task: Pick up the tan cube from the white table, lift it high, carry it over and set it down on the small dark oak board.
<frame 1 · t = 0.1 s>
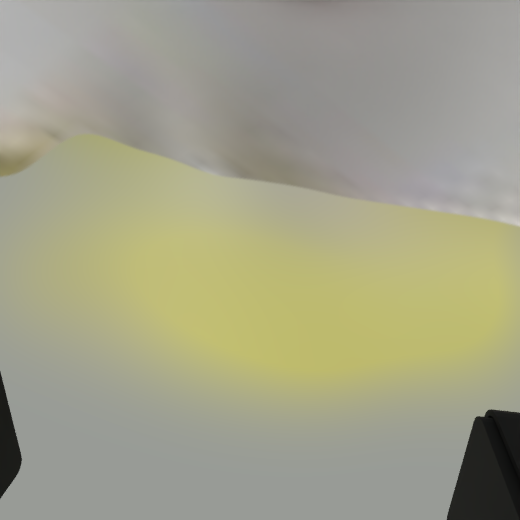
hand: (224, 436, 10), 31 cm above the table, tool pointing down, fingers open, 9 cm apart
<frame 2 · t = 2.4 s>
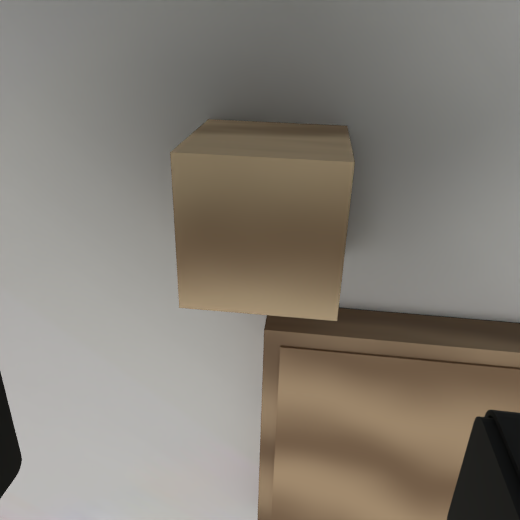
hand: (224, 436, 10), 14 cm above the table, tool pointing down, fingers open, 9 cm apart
tan cube: (274, 188, 22), on the table
oak board: (404, 434, 28), on the table
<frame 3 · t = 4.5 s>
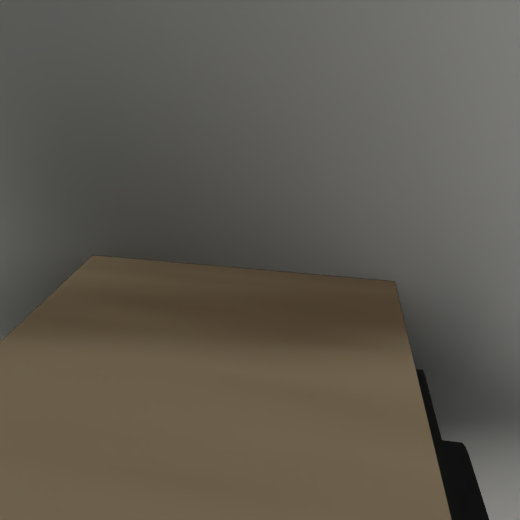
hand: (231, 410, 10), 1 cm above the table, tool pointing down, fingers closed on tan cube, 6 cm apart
tan cube: (237, 388, 11), on the table, touching gripper
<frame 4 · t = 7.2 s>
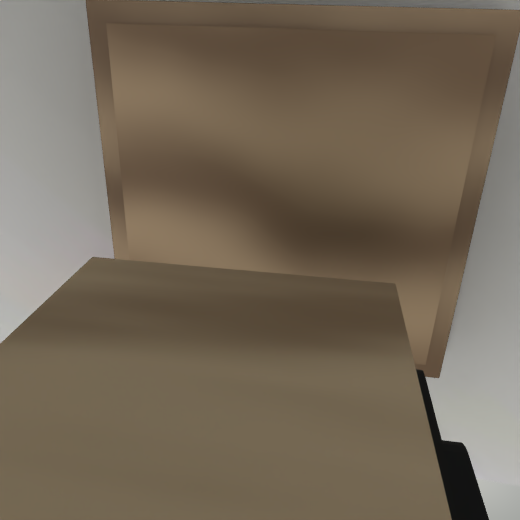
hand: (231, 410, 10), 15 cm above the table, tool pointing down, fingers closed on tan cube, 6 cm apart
tan cube: (237, 390, 11), point 14 cm above the table, touching gripper
oak board: (288, 194, 24), on the table
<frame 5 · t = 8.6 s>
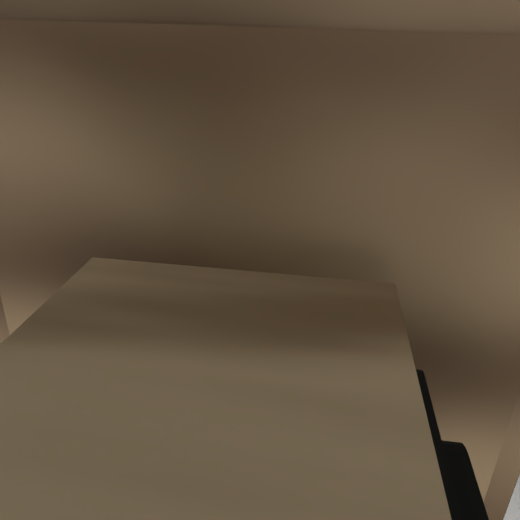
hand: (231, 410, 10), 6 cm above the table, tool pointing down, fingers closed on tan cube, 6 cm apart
tan cube: (237, 390, 11), point 5 cm above the table, touching gripper
oak board: (263, 278, 16), on the table
when the fingers open (4 cm above the table, at t = 9.8 s): tan cube drops 1 cm, resting on oak board.
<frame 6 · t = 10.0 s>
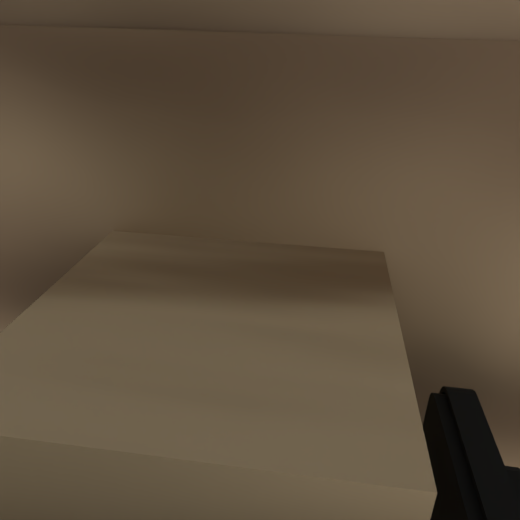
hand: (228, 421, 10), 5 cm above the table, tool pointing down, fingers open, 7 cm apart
tan cube: (242, 353, 12), point 3 cm above the table, touching oak board
oak board: (261, 302, 14), on the table
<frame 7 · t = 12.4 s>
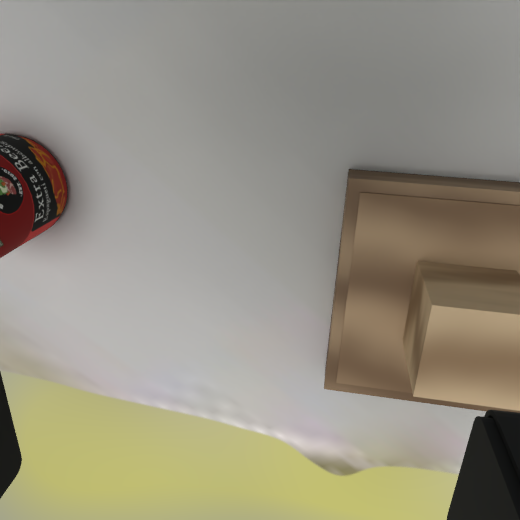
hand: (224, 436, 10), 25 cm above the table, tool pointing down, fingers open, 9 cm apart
tan cube: (456, 307, 32), point 3 cm above the table, touching oak board
oak board: (450, 290, 34), on the table
canned food: (23, 182, 37), on the table
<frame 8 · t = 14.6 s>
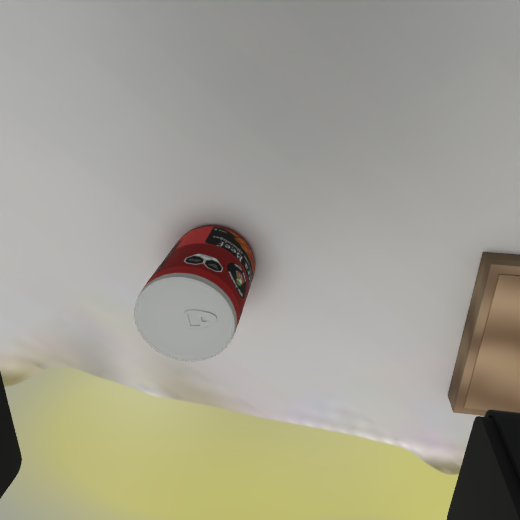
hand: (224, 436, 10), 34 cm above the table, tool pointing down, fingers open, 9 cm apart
canned food: (215, 259, 47), on the table
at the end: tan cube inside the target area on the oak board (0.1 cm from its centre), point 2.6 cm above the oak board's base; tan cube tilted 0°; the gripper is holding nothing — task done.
